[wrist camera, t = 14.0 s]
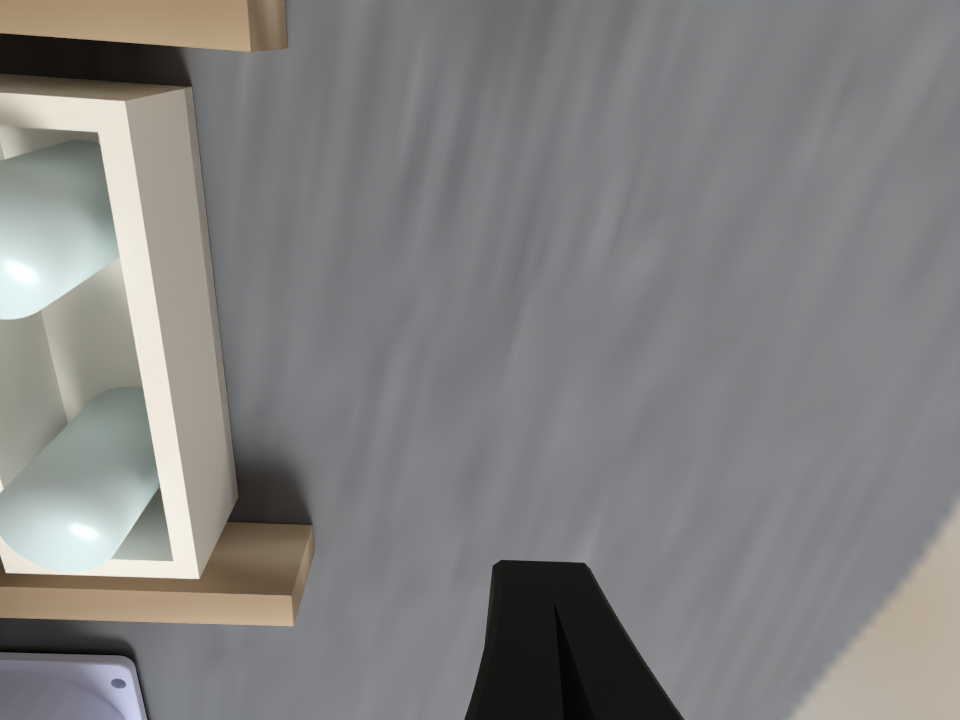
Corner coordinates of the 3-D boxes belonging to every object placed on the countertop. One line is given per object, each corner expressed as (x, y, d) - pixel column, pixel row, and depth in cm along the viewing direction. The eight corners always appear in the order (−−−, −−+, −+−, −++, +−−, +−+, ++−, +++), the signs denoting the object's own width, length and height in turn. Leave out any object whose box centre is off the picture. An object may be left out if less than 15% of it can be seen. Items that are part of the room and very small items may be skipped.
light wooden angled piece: (314, 553, 22) (276, 686, 18) (-83, 539, 21) (-228, 674, 17) (284, -12, 15) (207, -30, 10) (-317, -60, 14) (-676, -102, 10)
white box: (238, 496, 21) (182, 614, 17) (74, 490, 21) (-24, 608, 16) (192, 87, 16) (93, 107, 11) (-29, 71, 15) (-213, 86, 11)
